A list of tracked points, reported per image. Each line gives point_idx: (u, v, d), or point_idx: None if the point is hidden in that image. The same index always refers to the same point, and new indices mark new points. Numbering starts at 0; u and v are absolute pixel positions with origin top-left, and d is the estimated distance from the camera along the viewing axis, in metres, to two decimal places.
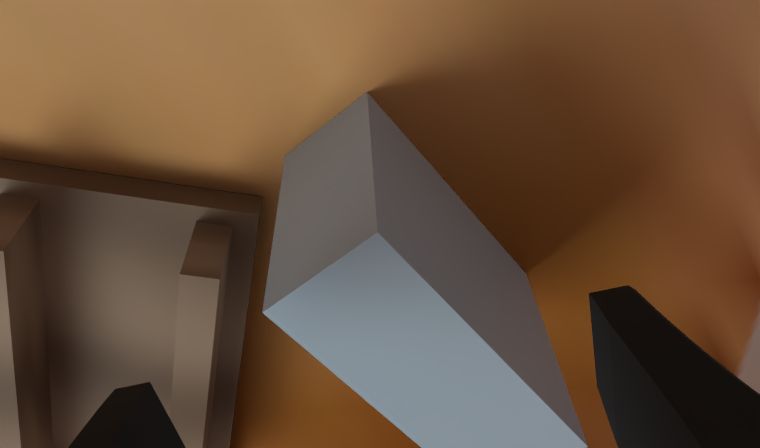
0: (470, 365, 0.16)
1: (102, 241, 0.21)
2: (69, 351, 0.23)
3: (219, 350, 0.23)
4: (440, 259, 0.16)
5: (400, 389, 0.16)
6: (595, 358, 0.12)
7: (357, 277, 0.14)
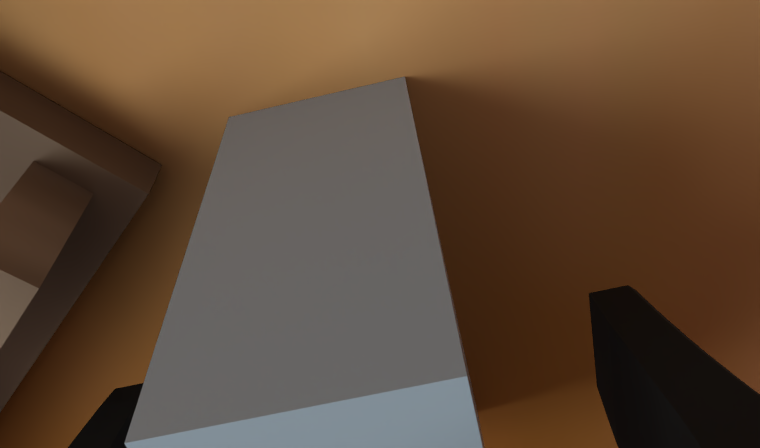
0: None
1: None
2: None
3: None
4: None
5: None
6: (595, 358, 0.12)
7: (369, 444, 0.06)
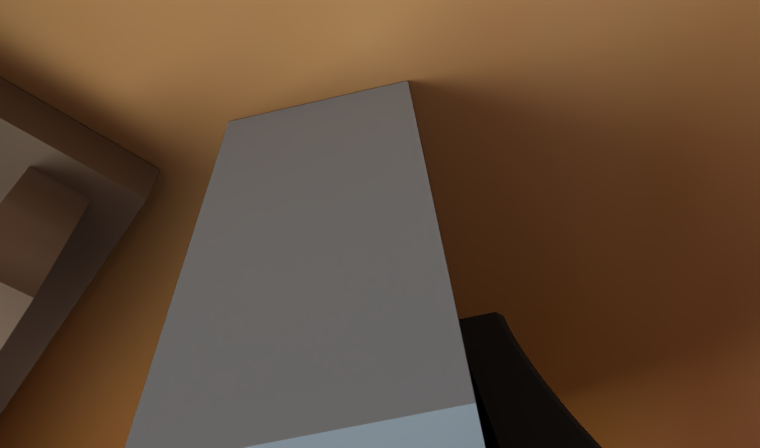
0: None
1: None
2: None
3: None
4: None
5: None
6: None
7: None
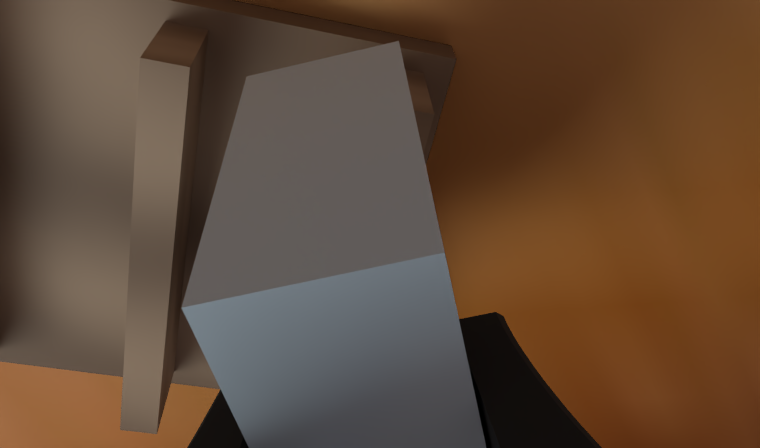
0: None
1: None
2: None
3: None
4: None
5: None
6: None
7: (371, 310, 0.08)
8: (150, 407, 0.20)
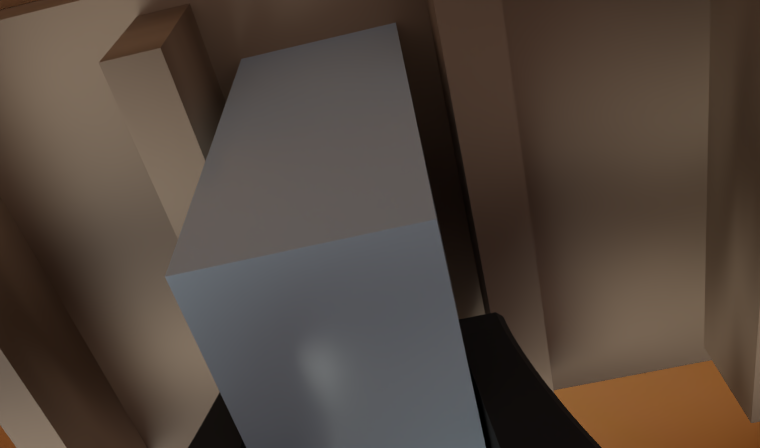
0: None
1: None
2: (540, 190, 0.16)
3: None
4: None
5: None
6: None
7: (360, 280, 0.08)
8: None
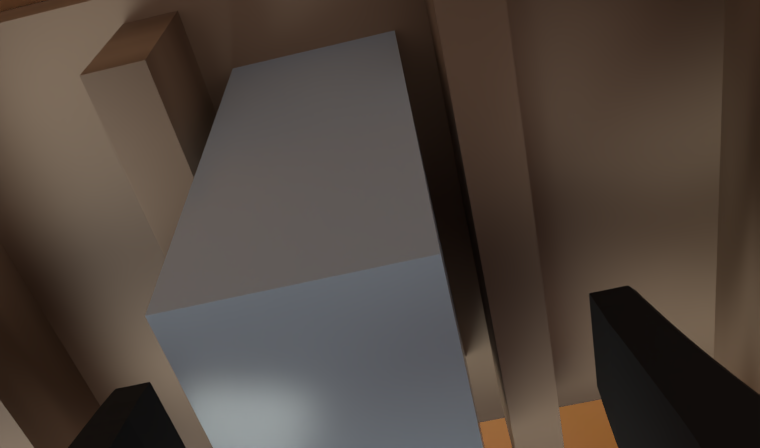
0: None
1: None
2: (545, 204, 0.15)
3: None
4: (457, 326, 0.10)
5: None
6: (595, 358, 0.12)
7: (358, 318, 0.07)
8: None
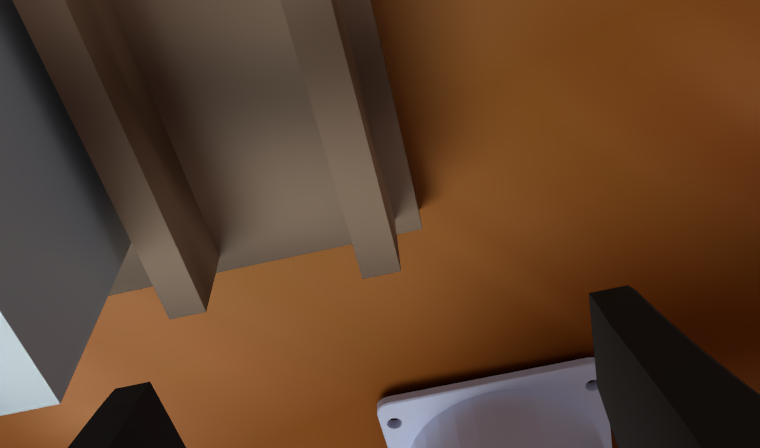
0: None
1: None
2: (170, 75, 0.18)
3: (340, 0, 0.17)
4: None
5: None
6: (595, 358, 0.12)
7: None
8: (183, 282, 0.18)
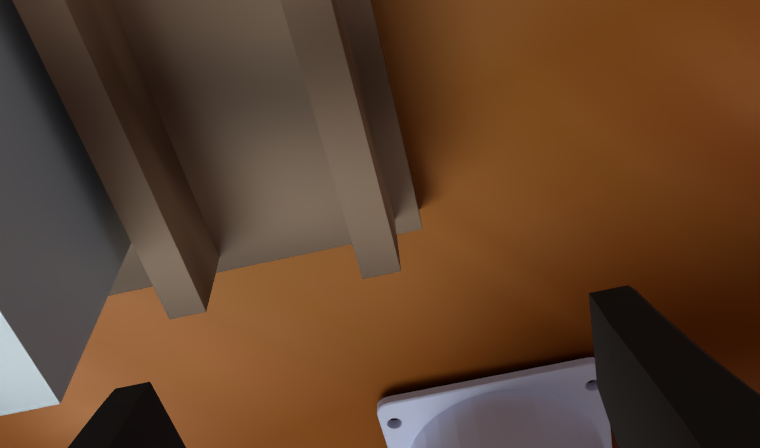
0: None
1: None
2: (170, 75, 0.18)
3: (340, 0, 0.17)
4: None
5: None
6: (595, 358, 0.12)
7: None
8: (183, 282, 0.18)
